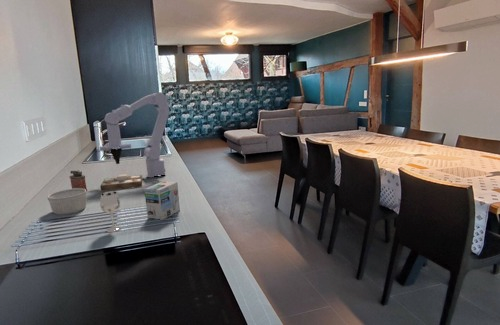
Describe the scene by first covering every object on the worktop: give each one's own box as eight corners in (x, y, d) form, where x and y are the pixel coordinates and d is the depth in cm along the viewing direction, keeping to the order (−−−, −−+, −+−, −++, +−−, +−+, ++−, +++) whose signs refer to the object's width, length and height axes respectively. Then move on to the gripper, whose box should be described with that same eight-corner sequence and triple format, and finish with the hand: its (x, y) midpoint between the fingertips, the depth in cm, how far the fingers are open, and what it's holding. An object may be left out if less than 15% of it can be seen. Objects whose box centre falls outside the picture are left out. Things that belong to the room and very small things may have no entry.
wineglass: (116, 224, 112) (111, 190, 110) (127, 227, 109) (122, 192, 106) (100, 230, 107) (95, 194, 105) (111, 234, 104) (105, 197, 102)
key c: (115, 184, 167) (114, 178, 166) (114, 186, 163) (113, 180, 163) (106, 185, 166) (105, 179, 165) (105, 187, 162) (104, 181, 162)
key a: (140, 181, 170) (139, 175, 169) (140, 183, 166) (139, 177, 166) (132, 182, 169) (131, 176, 168) (131, 184, 165) (130, 178, 165)
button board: (142, 179, 174) (142, 174, 174) (141, 186, 160) (141, 181, 159) (105, 183, 170) (104, 178, 169) (101, 191, 155) (100, 186, 155)
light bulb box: (162, 220, 114) (159, 189, 112) (146, 218, 116) (143, 188, 114) (180, 210, 123) (178, 181, 121) (165, 208, 126) (162, 180, 124)
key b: (127, 180, 168) (126, 174, 168) (126, 181, 164) (126, 175, 164) (119, 181, 167) (118, 175, 167) (118, 182, 163) (117, 176, 163)
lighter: (89, 190, 158) (86, 169, 156) (83, 192, 155) (80, 171, 153) (75, 190, 160) (72, 169, 158) (70, 192, 157) (66, 171, 155)
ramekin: (62, 218, 122) (59, 199, 120) (43, 213, 129) (40, 195, 127) (95, 207, 133) (93, 190, 131) (76, 203, 140) (73, 186, 138)
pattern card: (140, 179, 164) (140, 178, 164) (140, 181, 160) (140, 180, 160) (103, 183, 160) (102, 182, 160) (101, 185, 156) (101, 184, 156)
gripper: (97, 139, 162) (101, 166, 165) (129, 136, 166) (132, 163, 169) (99, 137, 169) (103, 164, 171) (130, 135, 172) (133, 161, 175)
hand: (117, 163), depth 170 cm, fingers closed
